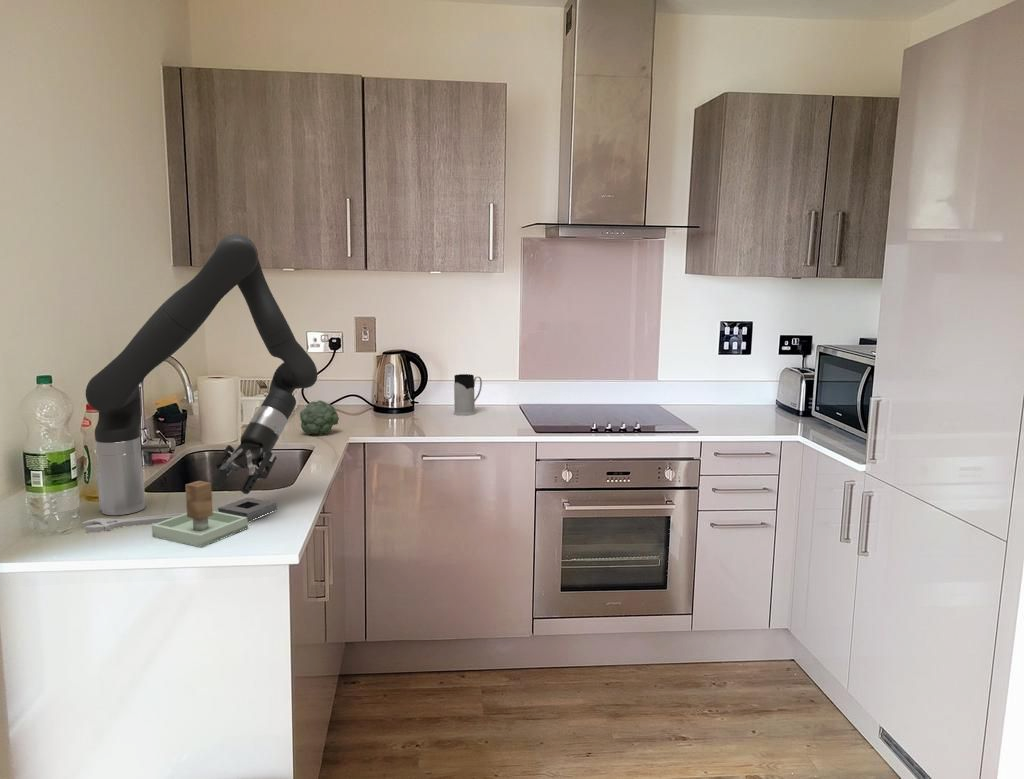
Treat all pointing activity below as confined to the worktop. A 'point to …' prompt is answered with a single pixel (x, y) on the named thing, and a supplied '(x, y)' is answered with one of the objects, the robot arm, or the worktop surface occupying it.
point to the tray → (184, 533)
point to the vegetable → (318, 417)
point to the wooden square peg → (199, 504)
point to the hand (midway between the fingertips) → (229, 489)
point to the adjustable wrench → (123, 522)
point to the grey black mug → (465, 394)
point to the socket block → (249, 508)
